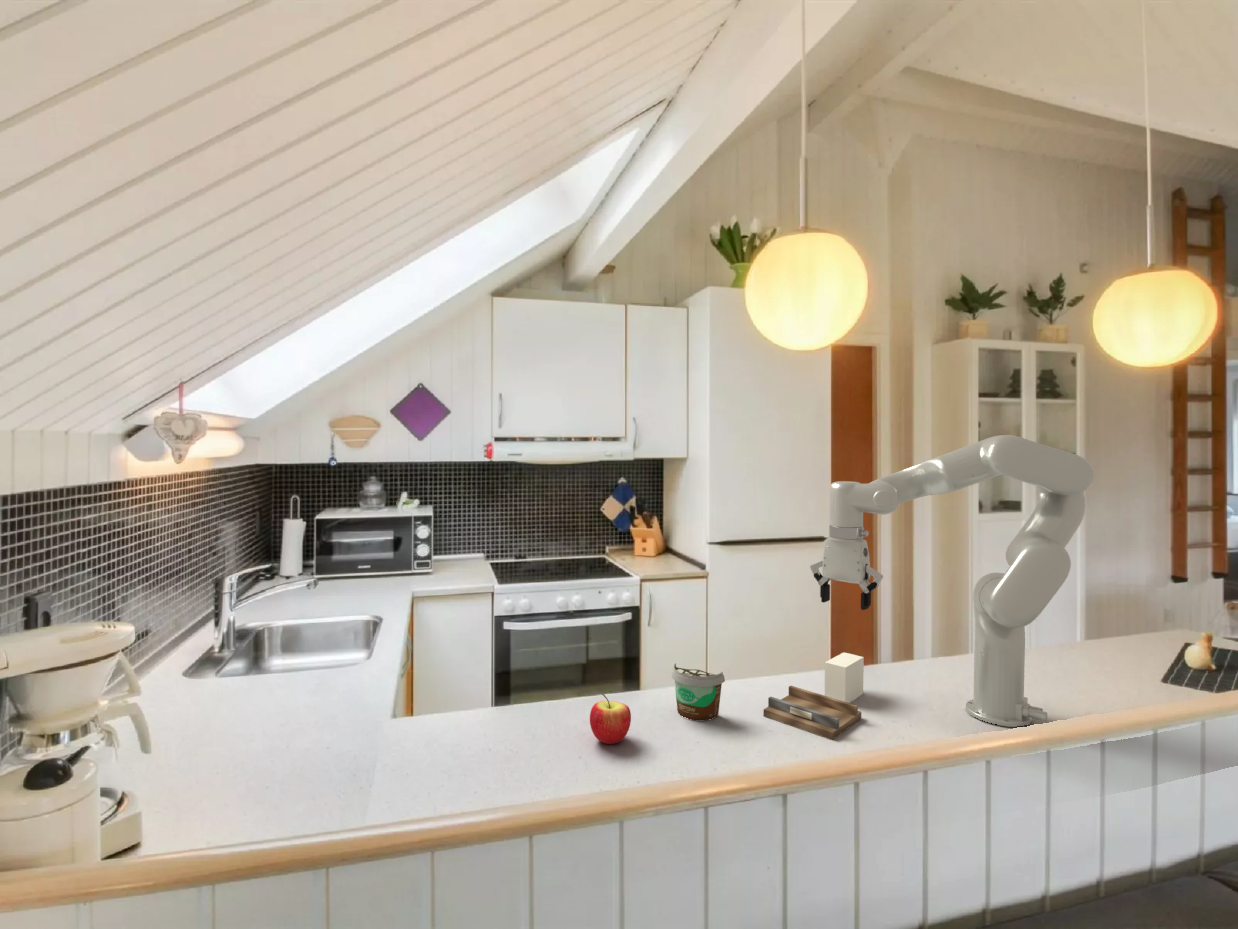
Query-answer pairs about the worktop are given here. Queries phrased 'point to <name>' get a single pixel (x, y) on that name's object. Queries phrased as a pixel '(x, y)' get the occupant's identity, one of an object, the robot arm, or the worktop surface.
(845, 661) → the box
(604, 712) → the apple
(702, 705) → the food container
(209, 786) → the worktop surface
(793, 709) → the shelf
